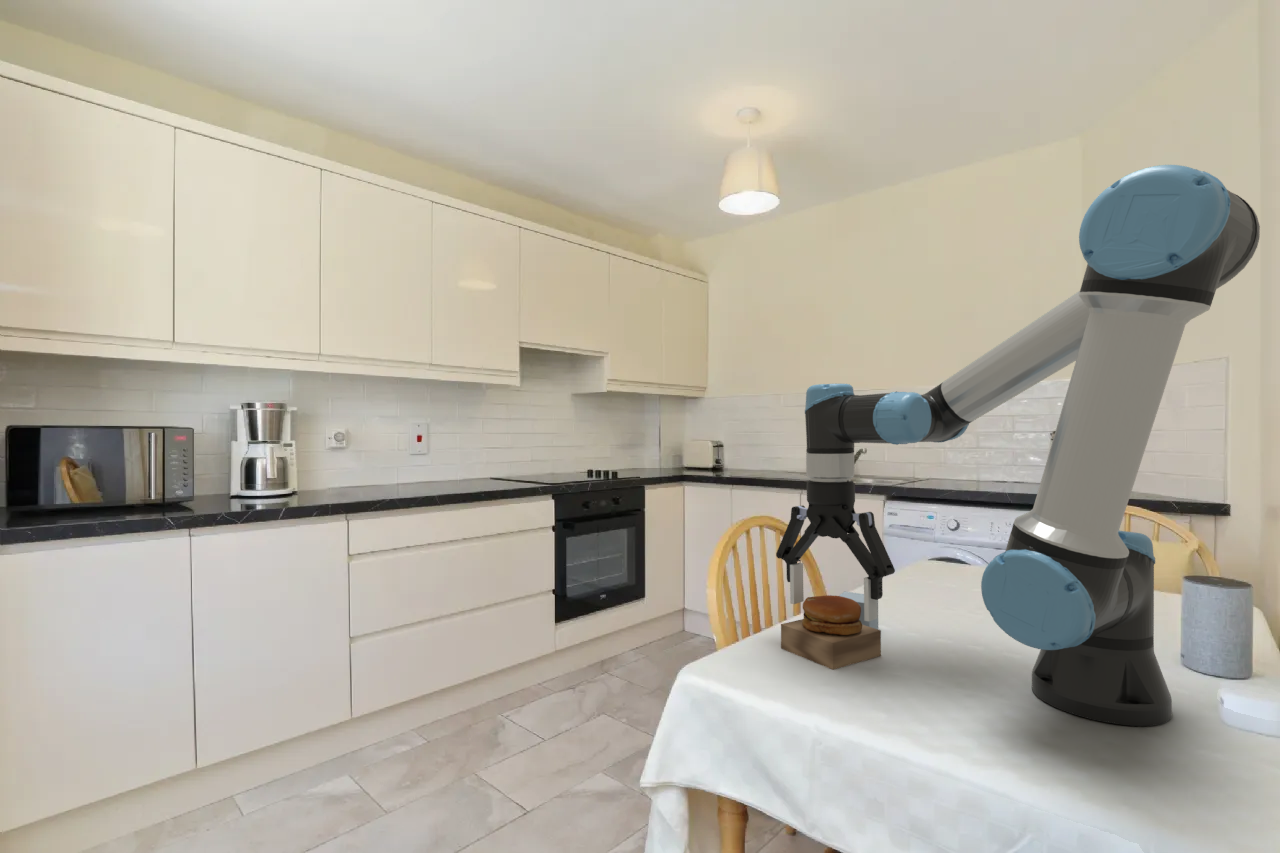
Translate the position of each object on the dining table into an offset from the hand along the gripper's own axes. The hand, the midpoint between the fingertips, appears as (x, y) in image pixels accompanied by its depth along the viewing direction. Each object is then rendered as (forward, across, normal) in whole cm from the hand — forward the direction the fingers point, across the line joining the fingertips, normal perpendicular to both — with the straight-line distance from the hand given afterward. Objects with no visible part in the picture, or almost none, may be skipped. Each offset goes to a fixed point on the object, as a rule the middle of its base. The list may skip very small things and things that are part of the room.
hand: (832, 610), depth 104 cm
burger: (+3, 0, 0) cm, 3 cm away
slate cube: (+7, +3, -13) cm, 15 cm away
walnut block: (+7, 0, 0) cm, 7 cm away
